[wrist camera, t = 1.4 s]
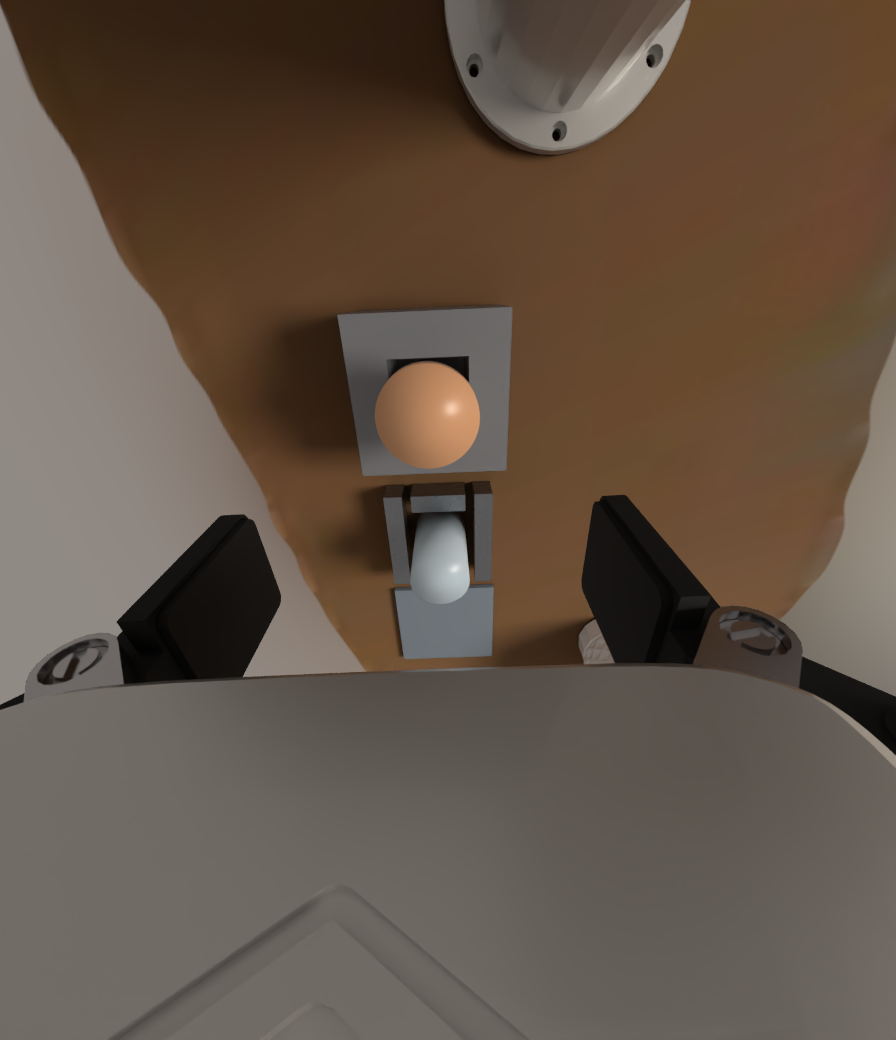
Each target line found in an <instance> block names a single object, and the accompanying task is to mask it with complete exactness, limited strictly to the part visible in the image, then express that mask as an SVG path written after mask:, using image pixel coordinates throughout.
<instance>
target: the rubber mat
mask: <svg viewBox="0 0 896 1040" xmlns="http://www.w3.org/2000/svg"><path fill="white" fill-rule="evenodd" d="M493 588H494V587H493V584H484V585H469V587H468V589H467V591H466V593H465V594H464V595H463V596H462V597H461V598H459V599H458V600H456V601H453V602H451V603H446V604H433V603H429V602H426V601H424V600H422V599H421V598H419V597H418V596H417V595H416V594H415V593H414V591H413V590H412V588H411V587H402V588H395V597H396V604H397V612H398V619H399V626H400V633H401V641H402V648H403V655H404V659H420V658H448V657H477V656H492V629H493Z"/></svg>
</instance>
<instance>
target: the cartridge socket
mask: <svg viewBox="0 0 896 1040" xmlns="http://www.w3.org/2000/svg"><path fill="white" fill-rule="evenodd" d="M472 485H473V568H474V577H475V581H491V556H492V506H493V493H492V489H491V485H490V481H480V482H472ZM410 498H411V508H412V513H424V512H449V511H466V508H465V488H464V482H455V483H430V484H412V490H411V496H410ZM383 501H384V509H385V516H386V523H387V531H388V538H389V545H390V553H391V560H392V567H393V575H394V582H395V584H409V583H410V576H411V568H412V557H411V547H410V537H409V528H408V518H407V509H406V499H405V490H404V485H387V486H386V490H385V493H384V497H383Z"/></svg>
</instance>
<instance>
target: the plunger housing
mask: <svg viewBox="0 0 896 1040" xmlns="http://www.w3.org/2000/svg"><path fill="white" fill-rule="evenodd" d="M337 316H338V322H339V329H340V335H341V341H342V347H343V354H344V360H345V366H346V372H347V379H348V385H349V391H350V397H351V404H352V410H353V416H354V422H355V429H356V435H357V441H358V447H359V454H360V460H361V466H362V472H363V476H377V475H402V474H427V473H452V472H477V471H502V470H506V465H507V438H508V412H509V386H510V359H511V333H512V307H510V306H505V305H480V306H458V307H435V308H413V309H391V310H368V311H355V312H349V313H344V314H338V315H337ZM420 361H434V362H439V363H442V364H446V365H448V366H450V367H452V368H453V369H455V370H456V371H458V372H459V373H460V374H461V375H463V376H464V378H465V379H466V380H467V381H468V382H469V384H470V385H471V387H472V389H473V391H474V393H475V396H476V399H477V402H478V405H479V411H480V425H479V430H478V433H477V436H476V438H475V440H474V442H473V444H472V446H471V447H470V449H469V450H468V451H467V452H466V453H465V454H464V455H463V456H462V457H461V458H459V459H458V460H456V461H455V462H453V463H451V464H449V465H446V466H444V467H439V468H432V469H424V468H418V467H414V466H411V465H408V464H406V463H404V462H402V461H400V460H399V459H397V458H396V457H395V456H394V455H392V454H391V453H390V452H389V451H388V449H387V448H386V447H385V445H384V444H383V442H382V441H381V439H380V437H379V434H378V431H377V428H376V423H375V407H376V402H377V399H378V396H379V394H380V392H381V390H382V388H383V386H384V385H385V384H386V382H387V381H388V379H389V378H390V377H391V376H392V375H393V374H394V373H395V372H397V371H398V370H399V369H401V368H402V367H404V366H406V365H409V364H411V363H415V362H420Z"/></svg>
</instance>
